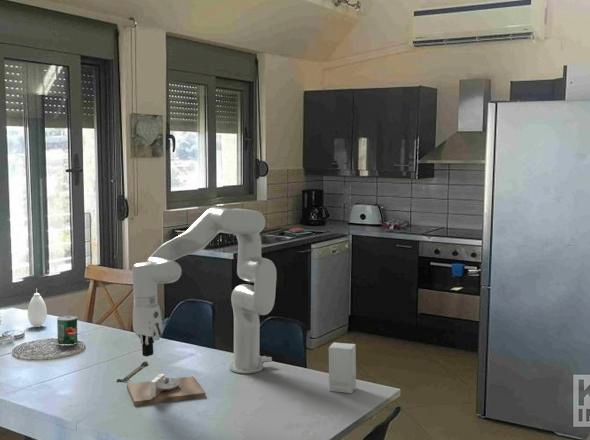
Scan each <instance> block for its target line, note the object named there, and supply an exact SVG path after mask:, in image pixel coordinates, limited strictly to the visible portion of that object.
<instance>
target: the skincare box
mask: <svg viewBox="0 0 590 440" xmlns="http://www.w3.org/2000/svg"><path fill="white" fill-rule="evenodd" d="M356 345H357V344H356V343H344V342H343V343H342V342H333V343H331V344H330V345H329V346H328V391H329V392H336V393H346V394H352V393H353V392H354V390H355V389H356V388H357V368H356V367H357V366H356V365H357V363H356V362H357V359H356V358H357V357H356V355H357V354H356V349H357V347H356Z"/></svg>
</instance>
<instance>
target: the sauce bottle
mask: <svg viewBox="0 0 590 440" xmlns="http://www.w3.org/2000/svg"><path fill="white" fill-rule="evenodd" d="M27 307H28V309H27V318H28V319H27V320H28V322H29V323H30V325H31V326H33V327H34V328H36V327H39V328H40V327H42V326H43V325H44V324H45V322H46V320H47V315H48V313H47V312H48V310H47V306H46V302H45V301H44V298H43V297H42V296H41V293H38V287H36V288H35V293H33V295H32V297H31V300H30V302H29V304H28V306H27Z"/></svg>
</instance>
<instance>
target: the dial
mask: <svg viewBox="0 0 590 440" xmlns="http://www.w3.org/2000/svg"><path fill="white" fill-rule="evenodd" d="M150 381H151V397H156V396H157V395H159V394H160V393H161V392H162V391H170V390H174V389H176V388H178V387H179V381H178V380H177V379H175V378H174V377H165V373H159V374H158V375H157V376H155V377H154V379H152V380H150Z"/></svg>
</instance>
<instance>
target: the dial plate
mask: <svg viewBox="0 0 590 440" xmlns="http://www.w3.org/2000/svg"><path fill="white" fill-rule="evenodd" d="M175 379H177V380H178V381H179V387H178V388H176V389H174V390H170V391H162V392H161V393H160V394H159V395H157V396H156V397H151V381H152V380H148V381H141V382H140V381H139V382H131V383H130V382H129V383H126V388H127V389H126V390H127V392H128V394H129V396H130V399H131V401H132V404H133V405H134V407H137V406H145V405H152V404H159V403H161V404H162V403H169V402H177V401H184V400H185V401H186V400H193V399H200V398H206V391H205V390H204V388H203V387H202V386H201V385H200V383H199V382H198V380H197V379H196V377H194V375H191V376H184V377H176V378H175Z"/></svg>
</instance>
